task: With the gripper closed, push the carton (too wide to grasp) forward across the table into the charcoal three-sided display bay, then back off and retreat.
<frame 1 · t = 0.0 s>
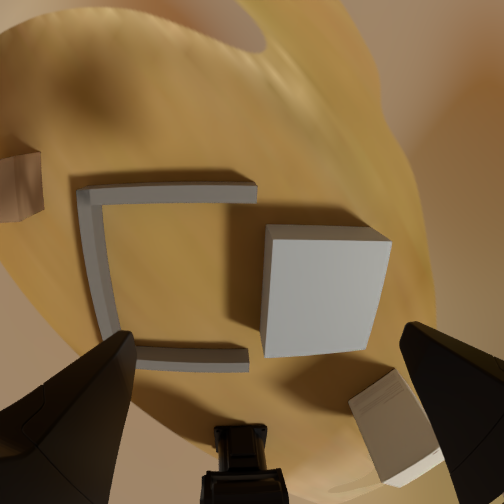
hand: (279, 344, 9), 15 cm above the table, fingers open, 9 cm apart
display bay: (177, 282, 24), on the table
carton: (313, 280, 25), on the table
supplement box: (380, 394, 32), on the table
walnut block: (23, 183, 19), on the table
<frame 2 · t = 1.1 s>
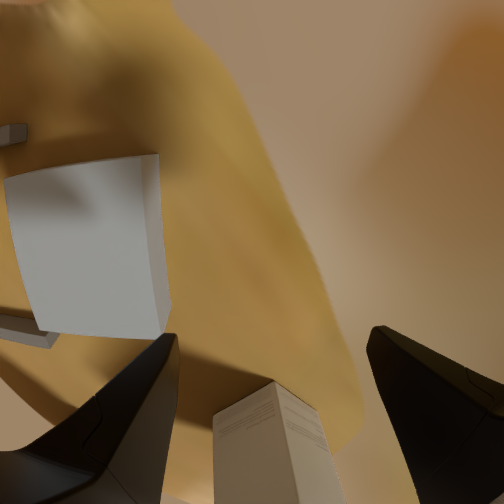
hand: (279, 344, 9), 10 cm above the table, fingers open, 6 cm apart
carton: (100, 236, 17), on the table
supplement box: (266, 413, 24), on the table
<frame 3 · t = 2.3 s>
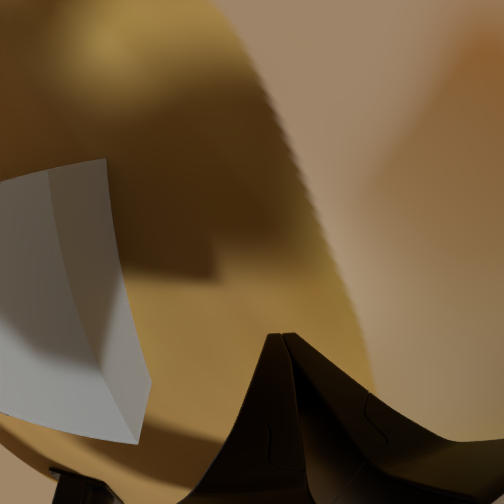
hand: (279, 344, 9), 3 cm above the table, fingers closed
carton: (42, 287, 10), on the table
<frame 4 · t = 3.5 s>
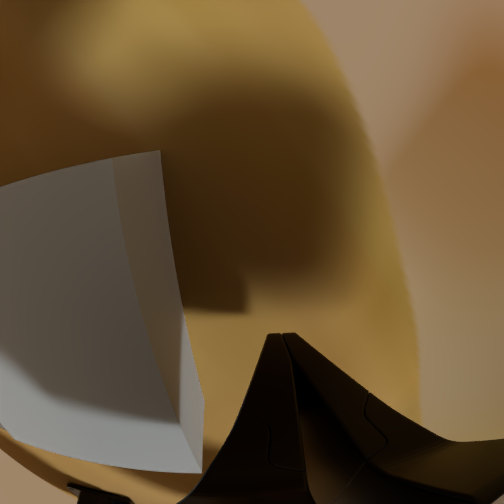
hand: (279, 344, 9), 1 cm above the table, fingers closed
carton: (73, 304, 10), on the table
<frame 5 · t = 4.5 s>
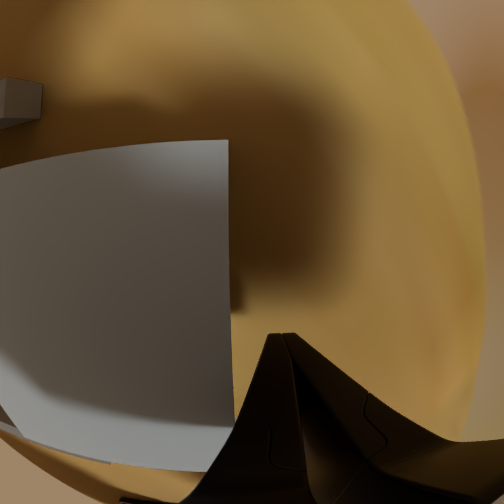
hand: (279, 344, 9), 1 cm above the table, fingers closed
carton: (105, 295, 10), on the table, touching gripper
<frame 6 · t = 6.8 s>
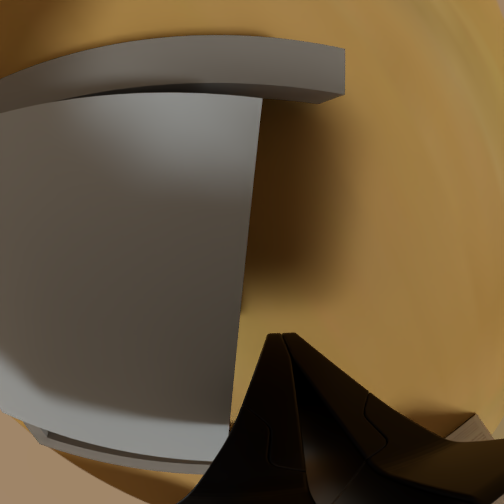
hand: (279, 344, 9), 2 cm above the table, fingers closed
display bay: (128, 315, 10), on the table
carton: (102, 265, 9), on the table
supplement box: (447, 444, 18), on the table
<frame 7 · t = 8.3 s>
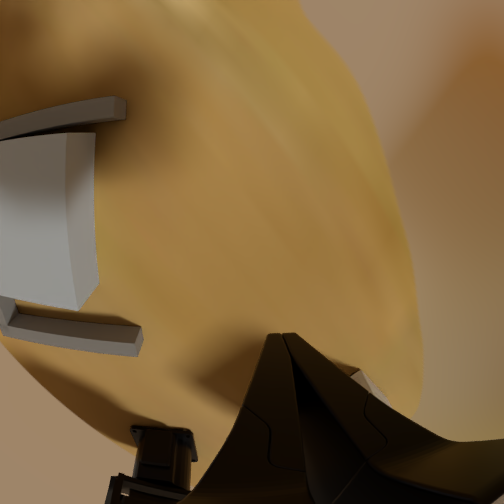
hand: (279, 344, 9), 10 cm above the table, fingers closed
display bay: (52, 233, 17), on the table
carton: (43, 209, 16), on the table
supplement box: (343, 403, 25), on the table
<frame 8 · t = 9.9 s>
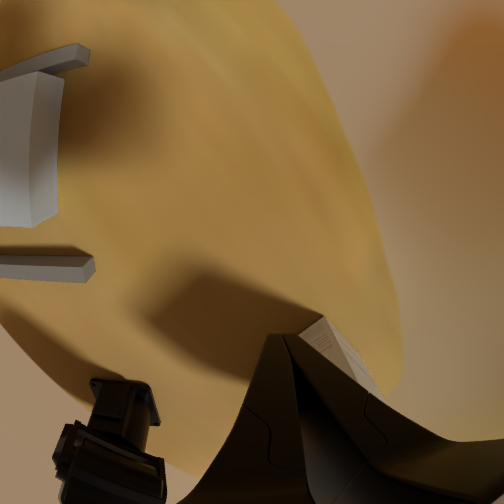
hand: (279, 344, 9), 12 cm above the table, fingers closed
display bay: (22, 169, 16), on the table
carton: (18, 149, 16), on the table
supplement box: (311, 360, 25), on the table
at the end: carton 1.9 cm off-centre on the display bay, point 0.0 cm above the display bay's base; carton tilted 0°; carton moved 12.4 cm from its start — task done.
